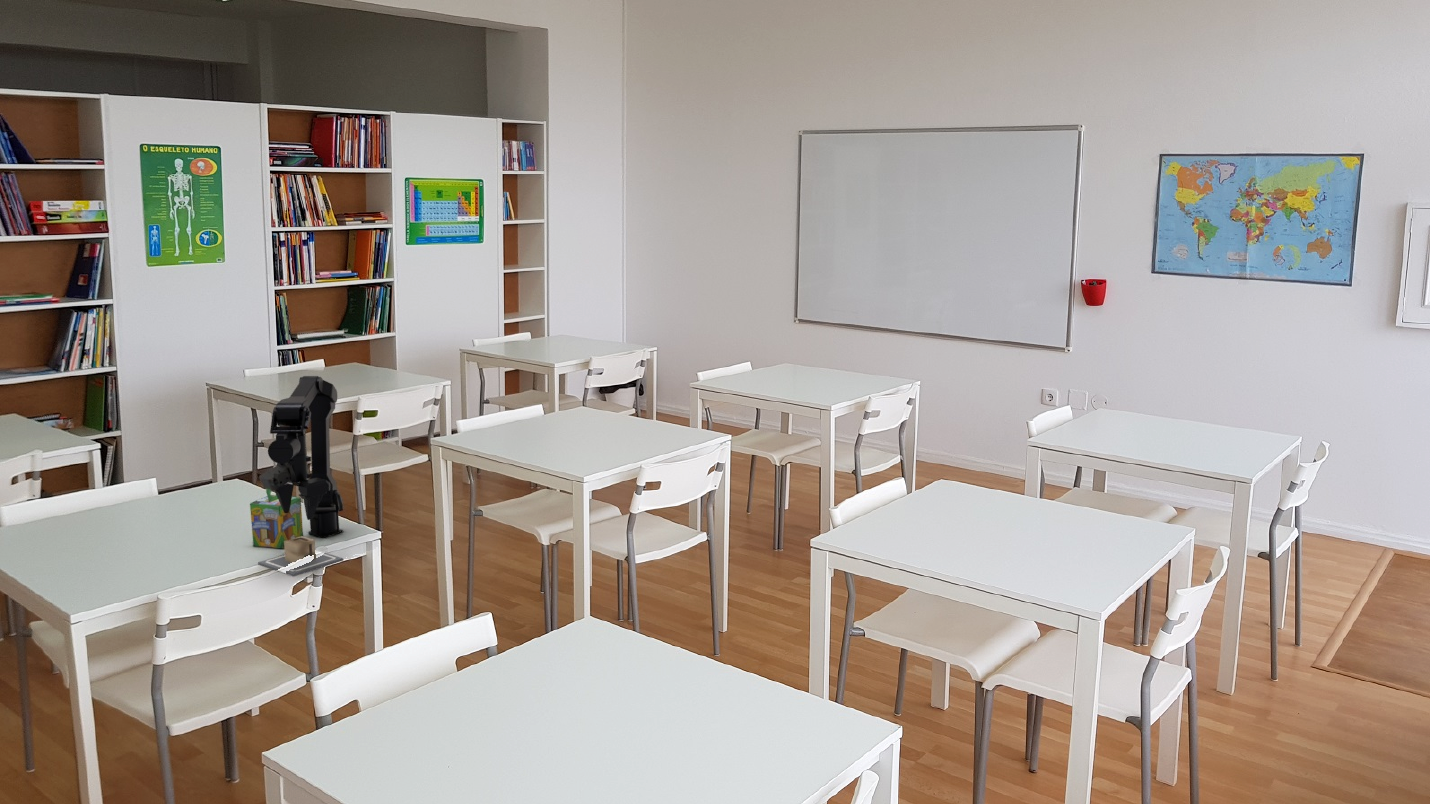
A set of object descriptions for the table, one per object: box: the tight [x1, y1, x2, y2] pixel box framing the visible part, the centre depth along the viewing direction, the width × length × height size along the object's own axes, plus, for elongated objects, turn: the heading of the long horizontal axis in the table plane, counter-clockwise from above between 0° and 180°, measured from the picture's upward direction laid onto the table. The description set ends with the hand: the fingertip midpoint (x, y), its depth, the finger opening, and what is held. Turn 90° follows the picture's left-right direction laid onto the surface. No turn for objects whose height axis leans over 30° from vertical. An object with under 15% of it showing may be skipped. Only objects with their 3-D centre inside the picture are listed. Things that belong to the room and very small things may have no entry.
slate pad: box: [257, 552, 344, 577], centre depth 271 cm, size 14×14×1 cm
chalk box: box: [249, 489, 304, 550], centre depth 284 cm, size 9×9×15 cm
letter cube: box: [284, 535, 316, 563], centre depth 270 cm, size 5×5×5 cm
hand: (297, 516), depth 268 cm, fingers open, 9 cm apart
